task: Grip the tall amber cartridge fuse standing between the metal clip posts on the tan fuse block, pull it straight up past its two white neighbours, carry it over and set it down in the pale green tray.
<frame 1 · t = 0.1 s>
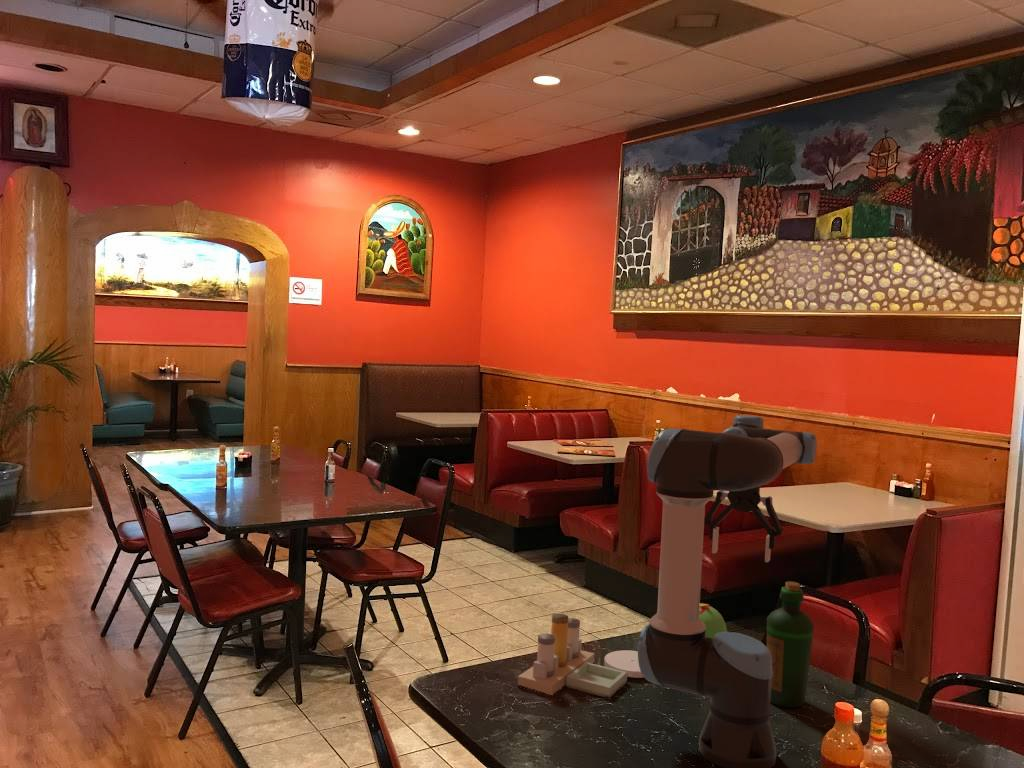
hand: (740, 556, 218), 28 cm above the table, tool pointing down, fingers open, 13 cm apart
bottle: (785, 702, 197), on the table
plastic lid: (631, 671, 213), on the table
toy bird: (692, 656, 223), on the table
fuse block: (557, 674, 207), on the table
tray: (596, 684, 202), on the table
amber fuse: (557, 664, 207), point 2 cm above the table, touching fuse block
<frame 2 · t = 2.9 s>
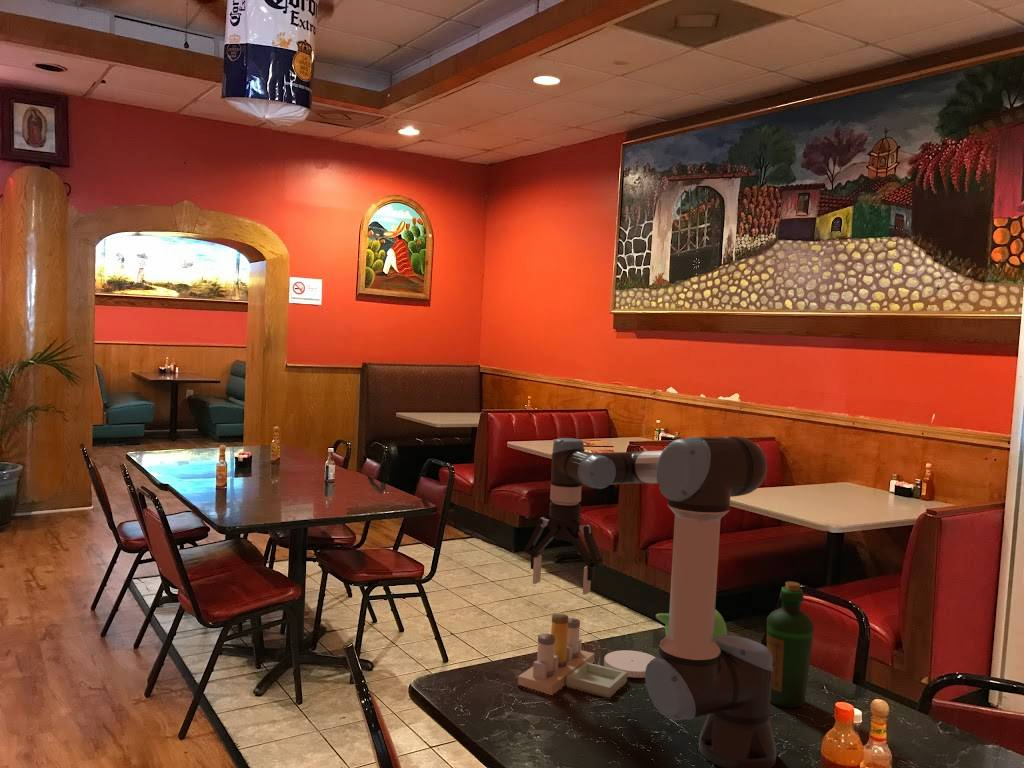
hand: (561, 587, 206), 22 cm above the table, tool pointing down, fingers open, 13 cm apart
nothing on the table moved.
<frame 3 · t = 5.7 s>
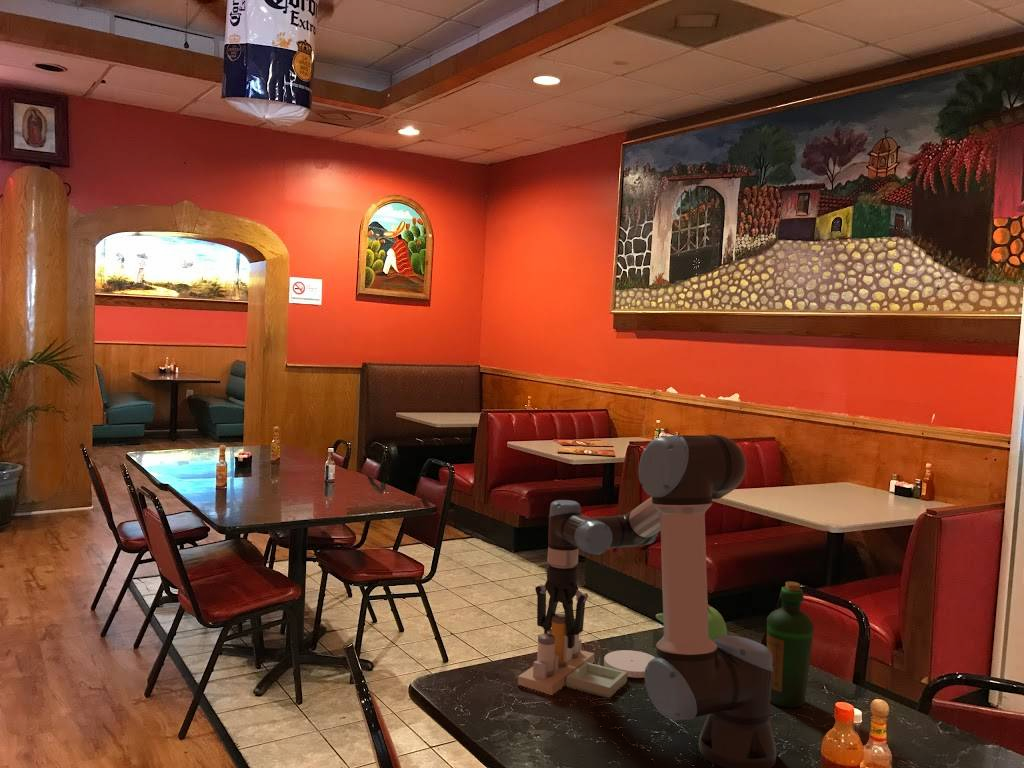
hand: (558, 657, 207), 4 cm above the table, tool pointing down, fingers closed on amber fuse, 4 cm apart
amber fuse: (558, 664, 207), point 3 cm above the table, touching gripper
everything else where it was.
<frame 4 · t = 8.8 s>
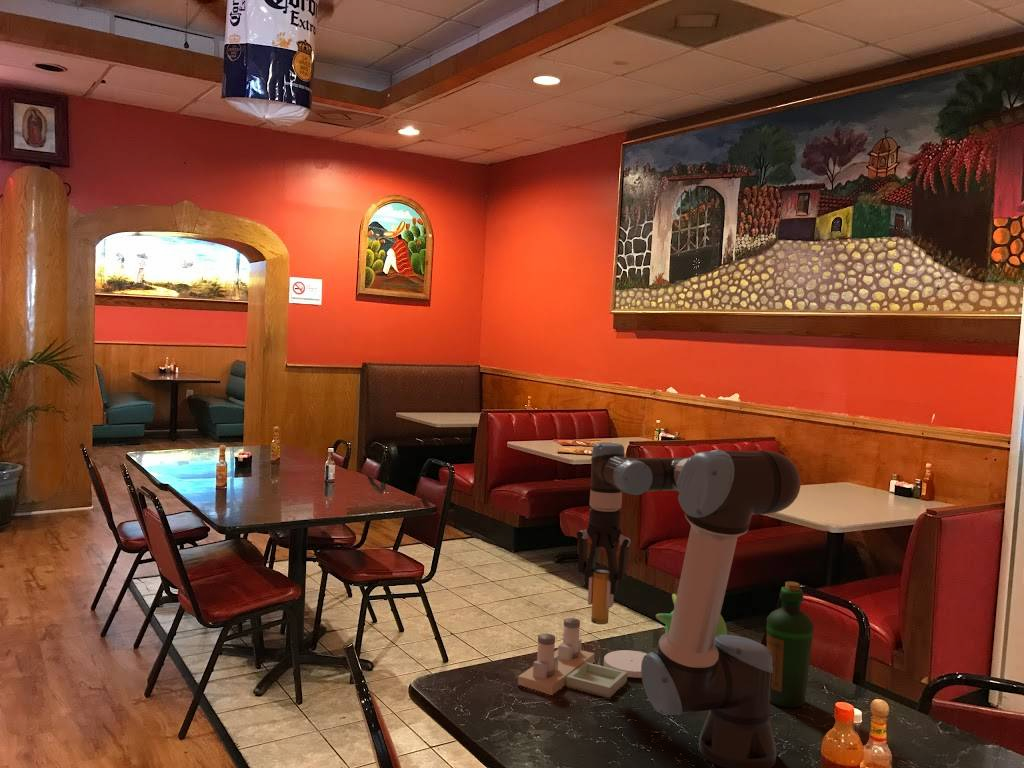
hand: (600, 604, 201), 19 cm above the table, tool pointing down, fingers closed on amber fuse, 4 cm apart
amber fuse: (599, 621, 201), point 15 cm above the table, touching gripper
everything else where it was.
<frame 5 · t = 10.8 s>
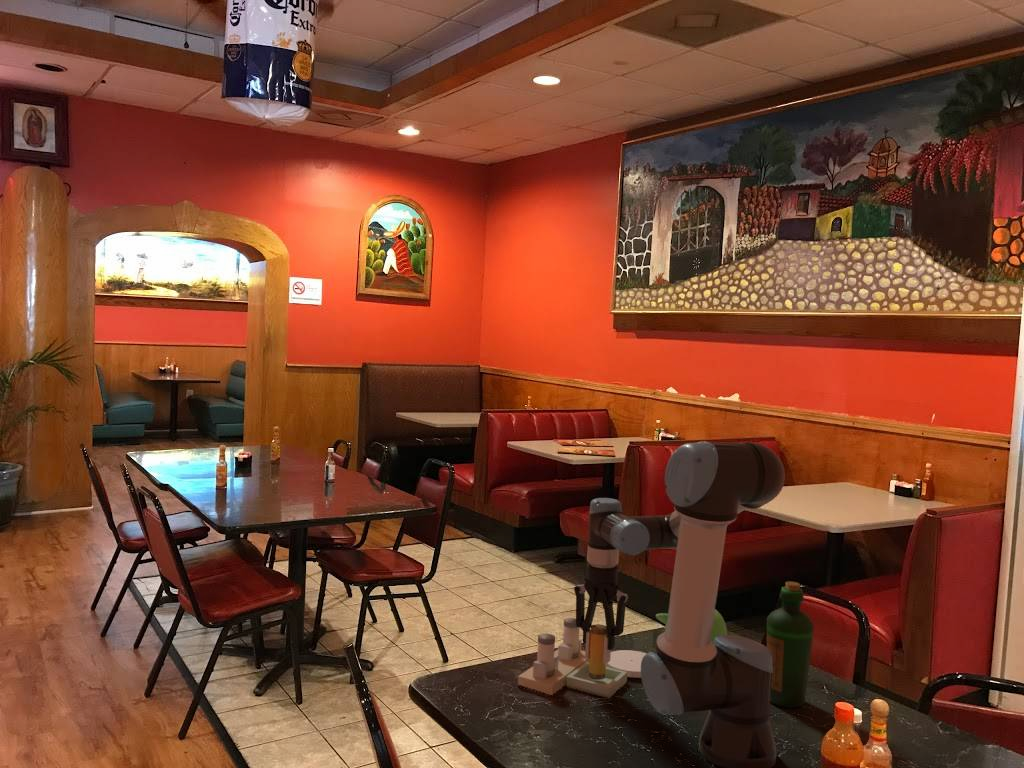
hand: (597, 659, 202), 6 cm above the table, tool pointing down, fingers closed on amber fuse, 4 cm apart
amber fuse: (596, 676, 202), point 2 cm above the table, touching gripper
everything else where it was.
when the fingers open (4 cm above the table, at t = 12.1 s): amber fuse stays where it is, resting on tray.
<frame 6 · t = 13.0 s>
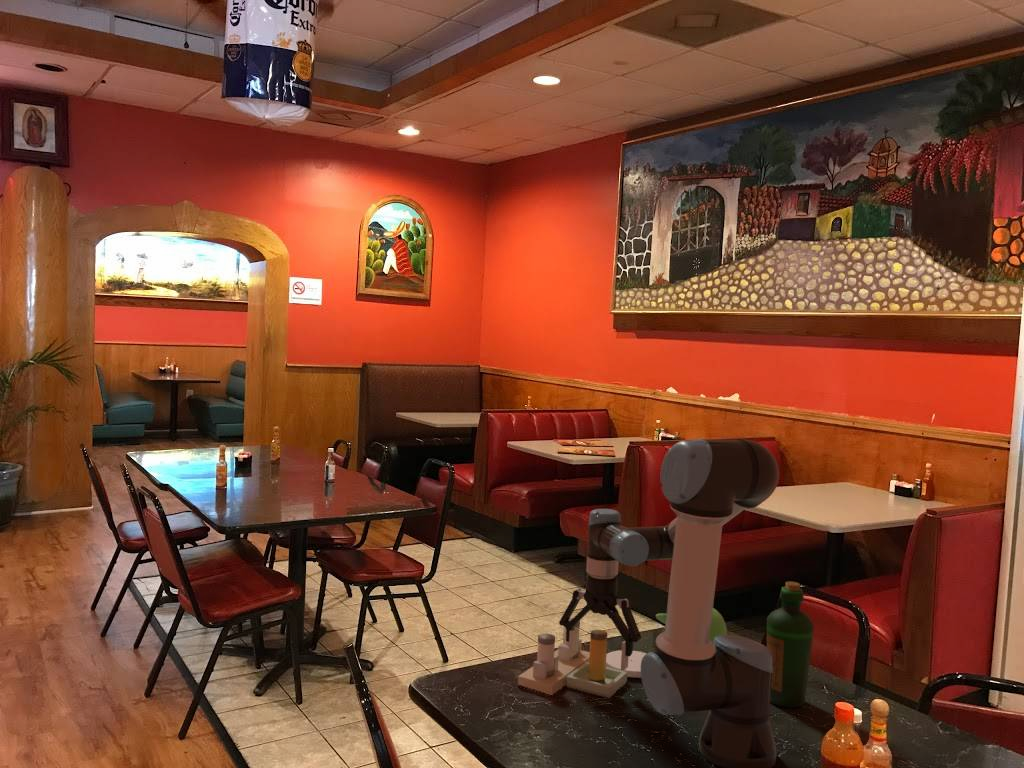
hand: (597, 662, 202), 6 cm above the table, tool pointing down, fingers open, 13 cm apart
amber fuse: (596, 681, 202), point 1 cm above the table, touching tray
everything else where it was.
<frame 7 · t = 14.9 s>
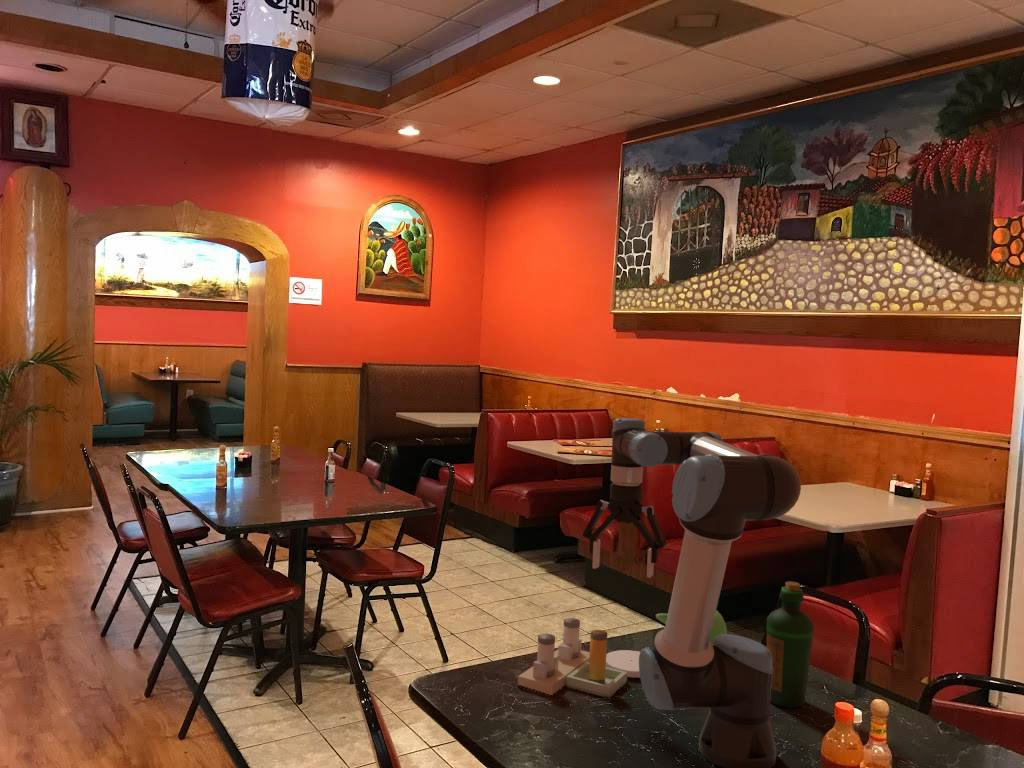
hand: (622, 571, 201), 28 cm above the table, tool pointing down, fingers open, 13 cm apart
nothing on the table moved.
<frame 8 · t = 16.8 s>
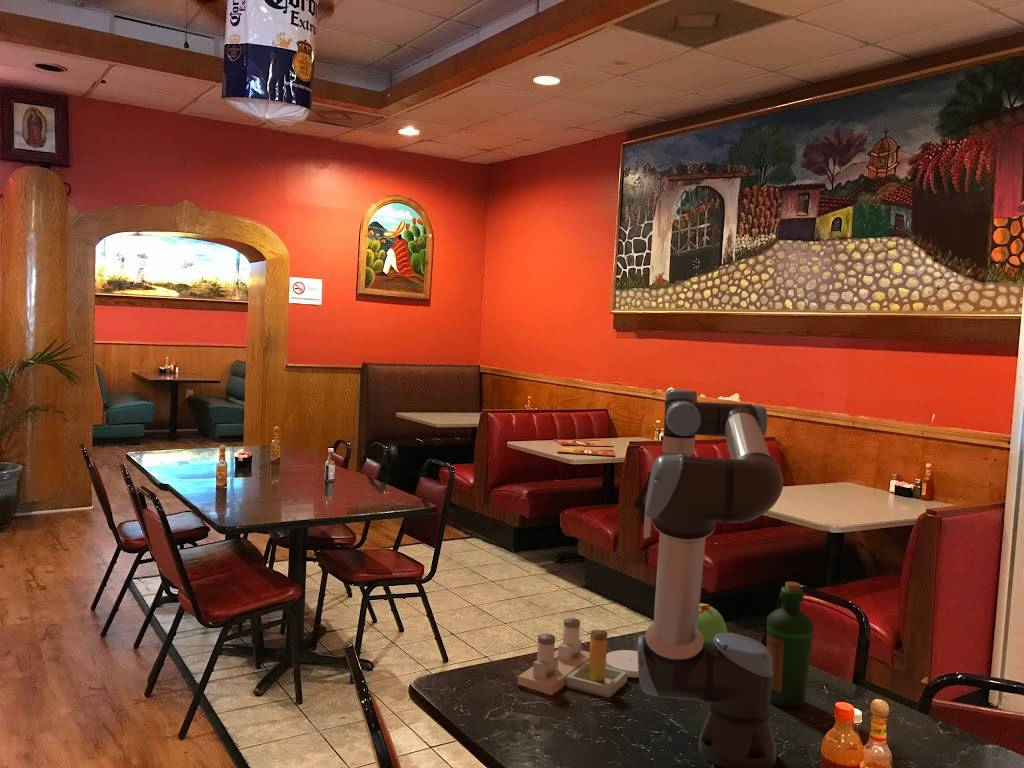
hand: (673, 541, 203), 35 cm above the table, tool pointing down, fingers open, 13 cm apart
nothing on the table moved.
at the end: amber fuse inside the target area on the tray (0.1 cm from its centre), point 0.6 cm above the tray's base; the gripper is holding nothing; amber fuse touching tray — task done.
